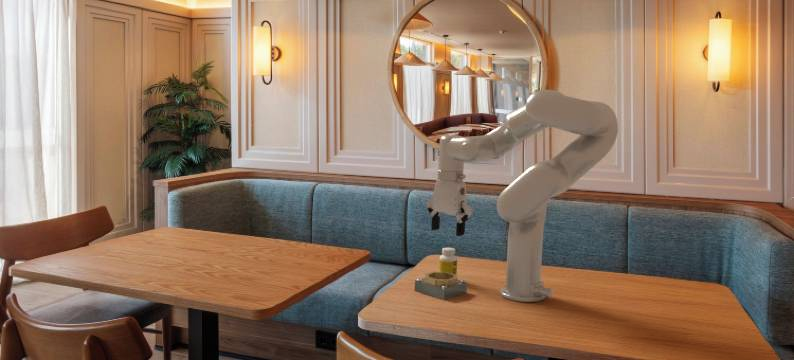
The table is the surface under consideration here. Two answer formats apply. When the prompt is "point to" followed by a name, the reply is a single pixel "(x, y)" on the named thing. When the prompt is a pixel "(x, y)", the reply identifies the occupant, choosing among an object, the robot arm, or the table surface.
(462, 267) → the table surface
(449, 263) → the supplement bottle
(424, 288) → the octagonal bottle holder
